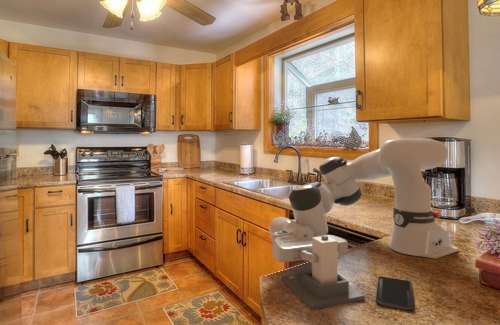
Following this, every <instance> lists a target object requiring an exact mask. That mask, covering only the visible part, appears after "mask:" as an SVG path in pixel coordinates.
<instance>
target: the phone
mask: <svg viewBox="0 0 500 325" xmlns="http://www.w3.org/2000/svg"><path fill="white" fill-rule="evenodd" d="M376 289H377V290H376V296H375V304H376V305H378V306H381V307H383V308H384V307H386V308H390V309H395V310H400V311H402V312H403V311H405V312H409V313H412V312H414V311H415V300H414V292H413V285H412V281H409V280H405V279H399V278H395V277H394V278H393V277H388V276H378V280H377V287H376Z"/></svg>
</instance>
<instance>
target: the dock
mask: <svg viewBox="0 0 500 325" xmlns="http://www.w3.org/2000/svg"><path fill="white" fill-rule="evenodd" d="M281 281H282V282H284V284H286V285H287V287H289V289H291V291H293V293H294V294H296V296H297V297H298V298H300V300H301V301H303V302H304V304H305V305H306V306H308V307H309V309H311V311H315V310H319V309H325V308H330V307H334V306H335V307H336V306H340V305H344V304H345V305H346V304H350V303H355V302H359V301H364V300H365V296H366V295H365V294H363V293H362V292H360V291H359V290H357V289H356V288H354V287H353V286H352V285H350V284H349V282H350V281H349V280H348V279H346V278H344V277H343V276H341V275H340V274H339V273H337V282H331V283H326V284H319V283H318V282H317V281H316V280H314V279H313V278H312V270H311V271H304V272H299V273H293V274H289V275H288V274H287V275H282V276H281Z"/></svg>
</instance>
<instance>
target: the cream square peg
mask: <svg viewBox="0 0 500 325" xmlns="http://www.w3.org/2000/svg"><path fill="white" fill-rule="evenodd" d="M314 253H315V254H316V255H318V256H319V259H318V260H319V262H317V263H312V262H311V271H312V278H313V279H314V280H316V281H317V282H318V283H319V284H326V283H331V282H337V274H338V266H339V265H338V241H337V240H335V239H333V238H331V237H329V236H321V237H312V254H314Z"/></svg>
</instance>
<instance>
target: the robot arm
mask: <svg viewBox="0 0 500 325" xmlns="http://www.w3.org/2000/svg"><path fill="white" fill-rule="evenodd" d="M448 155H449V153H448V149H447V147H446V145H445V144H444V143H443V142H441V141H439V140H436V139H433V138H429V137H428V138H425V137H424V138H421V137H416V138H415V137H397V138H394V139H391V140H390V139H389V140H387V141H385V142H384V143H383V144H382V145H381V146H380V148H378V149H375V150H373V151H370V152H366V153H365V154H362V155H359V156H358V157H356V158H355V159H353V160H352V161H350V162H348V159H347V158H343V157H340V156H333V157H331V156H330V157H328V158H326V159H324V160H323V162H321V163H320V165H319V169H318V170H319V172H320V174H321V176H322V177H323V179H324V181H320V182H319V181H311V182H308V183H305V184H303V185H300V186H297V187H296V188H293V189H292V190H291V192H290V193H289V195H288V200H289V203H290V206H291V210H292V213H293V217H294V218H293V219H291V218H287V217H285V216H284V217H283V216H277V217H274V218H273V219H272V220H271V222H270V224H269V226H268V227H269V228H268V231H269V235H270V237H271V252H272V256H273V257H274V259H276V260H277V261H278V262H279V263H293V262H297V261H307V262H311V264H312V263H317V262H319V260H318V259H319V256H318V255H316V254H315V253H314V254H312V237H321V236H329V237H331V238H333V239H335V240H337V241H338V260H340V255H346V254H348V246H349V244H348V241H347V240H346V239H345V238H342V237H340V236H337V235H332V234H328V233H329V227H328V223H327V218H326V214H328V213H330V211H332V209H333V207H334V204H335V205H337V204H338V205H340V206H344V207H345V206H351V205H354V204H356V203H357V202H358V201H359V200H360V199H361V198H362V194H363V193H362V191H361V188H360V186H358V184H357V181H372V180H378V179H382V178H387V177H391V179H392V182H393V188H394V207H393V210H392V216H393V217H392V218H393V223H392V229H391V236H390V238H389V245H388V248H390V249H391V250H393V251H395V252H398V253H400V254H404V255H410V256H413V257H414V256H415V257H425V258H428V259H429V258H430V259H439V258H442V257H445V256H449V255H450V254H454V253H456V252H459V248H458V247H457V246H455V245H453V244H451V242H450V241H451V238H450V237H451V236H450V234H449V232H448V231H447V230H446V229H444V228H443V227H442V226H441V225H440V224H438V223H437V222H436V219H435V218H441V211H436V210H433V211H432V188H431V186H430V185H429V184H428V183H427V182H426V181H425V180H424V177H423V174H422V171H425V170H431V169H434V168H438V167H441V166H442V165H444V164H445V162H446V161H447V159H448Z"/></svg>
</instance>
